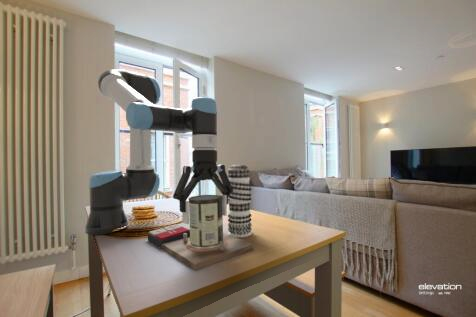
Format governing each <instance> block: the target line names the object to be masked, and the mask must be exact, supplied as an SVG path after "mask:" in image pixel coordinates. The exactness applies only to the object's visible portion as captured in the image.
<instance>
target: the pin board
mask: <svg viewBox="0 0 476 317" xmlns="http://www.w3.org/2000/svg"><path fill="white" fill-rule="evenodd" d="M161 250H163V251H165V252H166V253H168V254H169V255H171V256H172V257H175V258H176V259H177V260H179V261H181V262H182V263H183V264H185V265H187V266H188V267H189V268H191V269H193V270H195V271H199V270H201V269H203V268H206V267H209V266H212V265H214V264H217V263H219V262H222V261H225V260H229V259H230V258H234V257H235V256H236V257H237V256H239V255H241V254H243V253H246V252H249V251H251V250H254V243H252V242H249V241H246V240H244V239H240V238H239V237H232V236H230V235H229V234H227V233H224V232H223V241H220V246H219V247H216V248H212V249H196V248H193V247H191V246H190V237H187V233H184V234H183V238H182V239H178V240H175V241H171V242H167V243H163V244H162V249H161Z"/></svg>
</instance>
